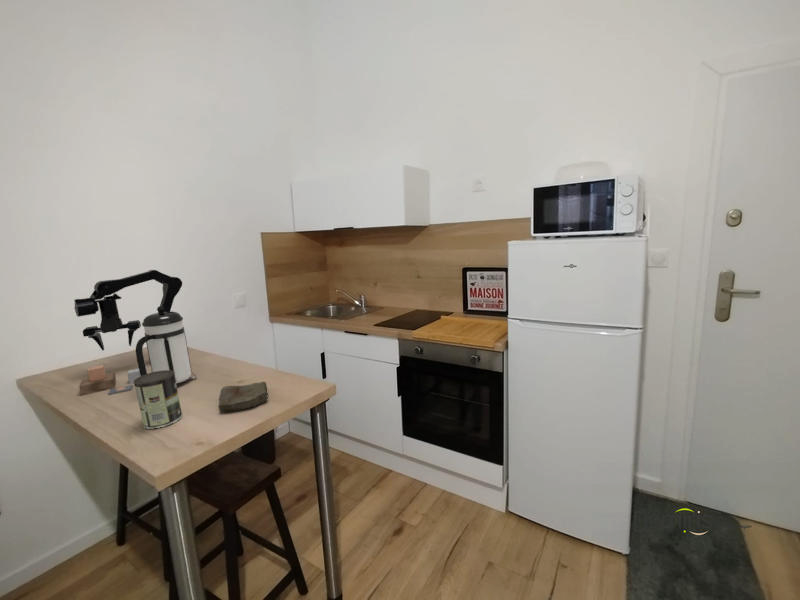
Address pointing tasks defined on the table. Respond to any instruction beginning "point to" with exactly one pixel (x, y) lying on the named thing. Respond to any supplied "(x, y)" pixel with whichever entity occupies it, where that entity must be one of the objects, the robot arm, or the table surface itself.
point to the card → (120, 389)
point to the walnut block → (97, 384)
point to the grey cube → (133, 375)
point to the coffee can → (158, 399)
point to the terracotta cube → (97, 373)
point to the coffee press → (165, 345)
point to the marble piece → (242, 396)
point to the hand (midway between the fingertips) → (117, 348)
